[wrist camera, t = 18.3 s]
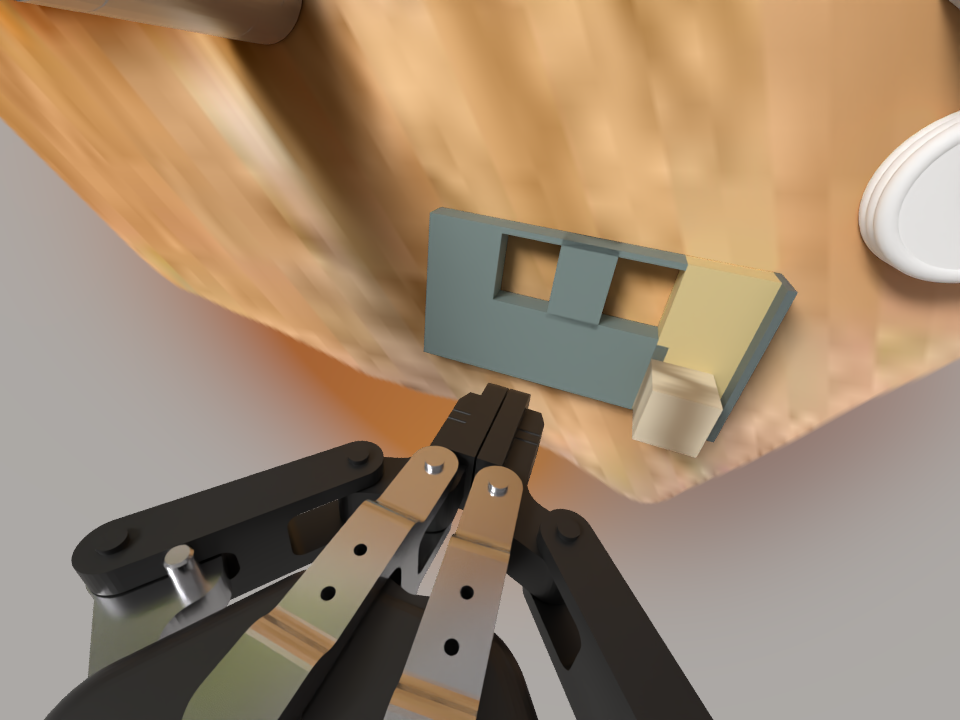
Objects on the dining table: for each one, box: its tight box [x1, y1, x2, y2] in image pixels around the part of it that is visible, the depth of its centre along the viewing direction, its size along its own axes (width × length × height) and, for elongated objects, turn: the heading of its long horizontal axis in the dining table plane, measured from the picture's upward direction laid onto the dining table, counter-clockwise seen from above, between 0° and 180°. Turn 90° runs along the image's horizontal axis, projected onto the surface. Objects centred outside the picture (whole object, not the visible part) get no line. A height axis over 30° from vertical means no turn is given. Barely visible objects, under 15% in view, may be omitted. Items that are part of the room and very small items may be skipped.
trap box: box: [424, 207, 798, 442], centre depth 37 cm, size 28×14×4 cm, turn 83°
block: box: [632, 359, 723, 458], centre depth 35 cm, size 5×5×5 cm
